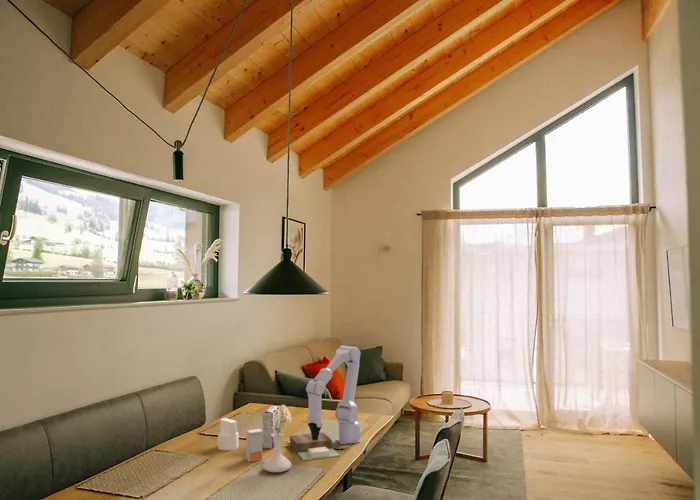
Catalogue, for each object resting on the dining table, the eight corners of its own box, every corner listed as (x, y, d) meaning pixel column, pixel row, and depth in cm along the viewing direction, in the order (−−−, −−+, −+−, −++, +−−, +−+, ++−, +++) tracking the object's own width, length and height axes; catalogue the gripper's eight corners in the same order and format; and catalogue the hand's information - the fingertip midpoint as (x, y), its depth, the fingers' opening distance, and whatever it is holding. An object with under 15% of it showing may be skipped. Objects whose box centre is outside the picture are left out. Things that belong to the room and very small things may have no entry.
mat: (332, 449, 236) (332, 448, 236) (339, 456, 227) (339, 455, 227) (297, 453, 230) (297, 452, 231) (303, 460, 221) (303, 459, 221)
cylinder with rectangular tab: (242, 447, 240) (242, 420, 241) (225, 451, 233) (225, 424, 234) (230, 442, 246) (231, 416, 247) (214, 447, 239) (214, 420, 240)
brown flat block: (323, 440, 248) (323, 432, 249) (332, 449, 236) (332, 440, 237) (289, 444, 243) (290, 435, 243) (297, 453, 231) (297, 443, 231)
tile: (329, 450, 226) (329, 455, 226) (325, 446, 232) (325, 451, 232) (311, 452, 224) (311, 457, 223) (307, 448, 229) (307, 453, 229)
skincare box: (248, 462, 219) (248, 432, 220) (245, 459, 223) (246, 430, 224) (262, 460, 222) (263, 431, 223) (259, 457, 226) (259, 428, 227)
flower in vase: (279, 477, 203) (279, 411, 204) (256, 471, 209) (257, 407, 210) (299, 467, 214) (300, 404, 215) (278, 462, 220) (278, 400, 221)
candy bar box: (270, 441, 248) (270, 405, 249) (280, 441, 247) (281, 406, 248) (262, 448, 237) (262, 411, 238) (272, 449, 236) (272, 411, 237)
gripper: (302, 405, 240) (301, 436, 239) (310, 413, 226) (310, 445, 225) (316, 404, 242) (316, 434, 241) (326, 411, 229) (326, 443, 228)
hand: (315, 439), depth 234 cm, fingers closed
